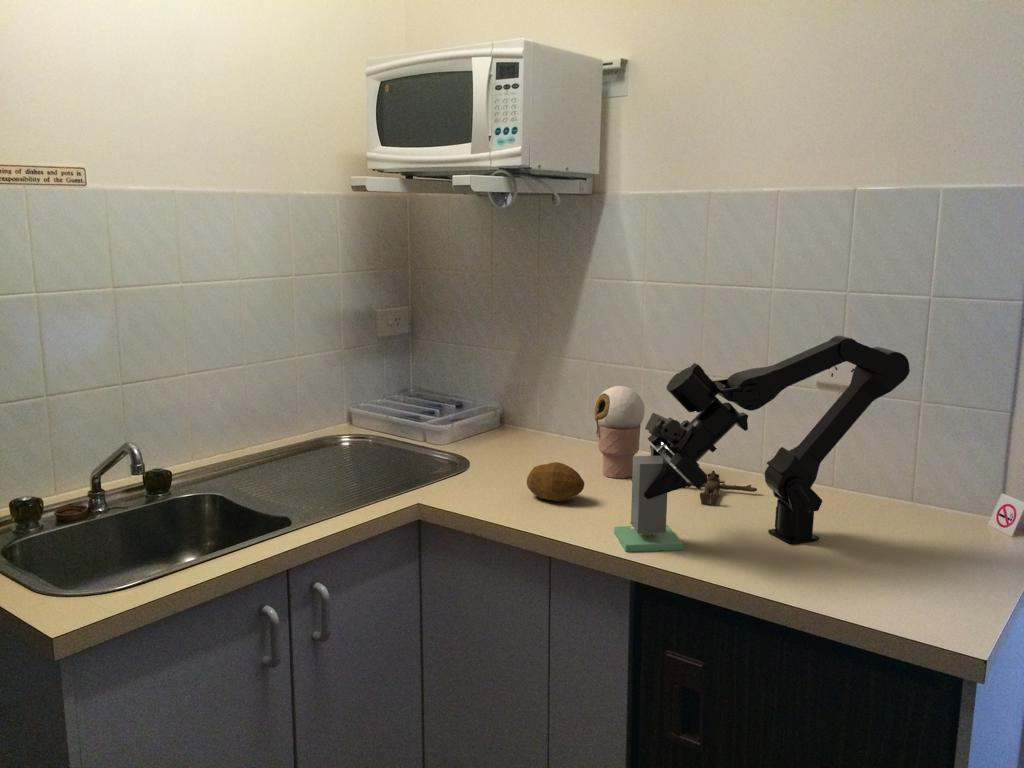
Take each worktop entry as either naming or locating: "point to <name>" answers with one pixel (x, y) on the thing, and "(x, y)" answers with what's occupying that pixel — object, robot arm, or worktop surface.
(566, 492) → the potato
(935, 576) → the worktop surface
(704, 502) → the brown clay figure
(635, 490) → the grey rectangular block
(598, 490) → the worktop surface
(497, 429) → the worktop surface
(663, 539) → the header board
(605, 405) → the ice cream cone
